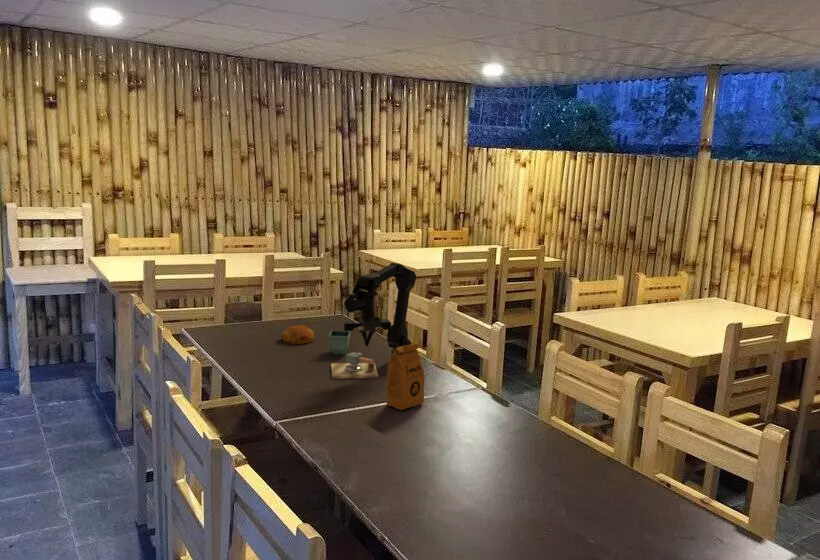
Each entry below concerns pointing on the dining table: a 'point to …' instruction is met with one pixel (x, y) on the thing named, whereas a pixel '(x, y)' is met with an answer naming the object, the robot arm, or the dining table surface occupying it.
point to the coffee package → (405, 378)
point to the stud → (353, 368)
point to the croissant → (297, 335)
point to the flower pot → (339, 341)
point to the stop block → (371, 367)
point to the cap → (357, 358)
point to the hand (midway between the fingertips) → (366, 346)
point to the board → (340, 372)
